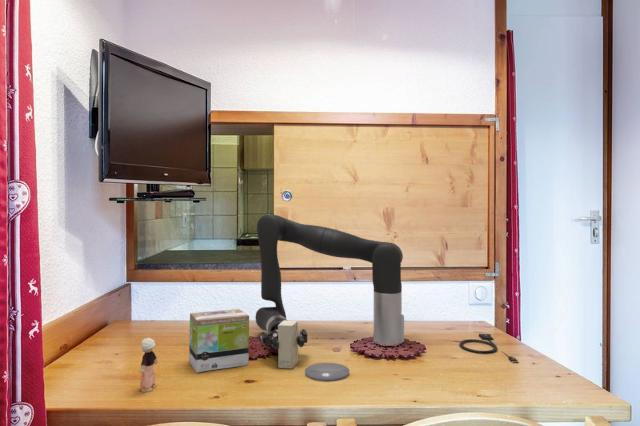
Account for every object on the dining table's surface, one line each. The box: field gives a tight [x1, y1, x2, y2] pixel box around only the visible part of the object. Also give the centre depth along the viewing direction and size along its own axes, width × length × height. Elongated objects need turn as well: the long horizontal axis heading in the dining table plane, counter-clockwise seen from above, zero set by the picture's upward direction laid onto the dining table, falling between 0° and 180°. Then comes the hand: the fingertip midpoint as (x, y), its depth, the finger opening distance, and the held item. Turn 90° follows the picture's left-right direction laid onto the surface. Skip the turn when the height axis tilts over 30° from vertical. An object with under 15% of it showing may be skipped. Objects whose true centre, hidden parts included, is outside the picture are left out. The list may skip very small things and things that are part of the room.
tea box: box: [188, 308, 250, 374], centre depth 132 cm, size 15×10×15 cm
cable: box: [458, 333, 520, 364], centre depth 148 cm, size 14×28×2 cm, turn 176°
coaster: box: [304, 362, 350, 382], centre depth 125 cm, size 12×12×1 cm
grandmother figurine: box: [139, 337, 158, 393], centre depth 114 cm, size 8×4×13 cm, turn 5°
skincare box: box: [277, 319, 299, 369], centre depth 132 cm, size 6×4×12 cm
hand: (289, 344), depth 129 cm, fingers closed on skincare box, 6 cm apart
